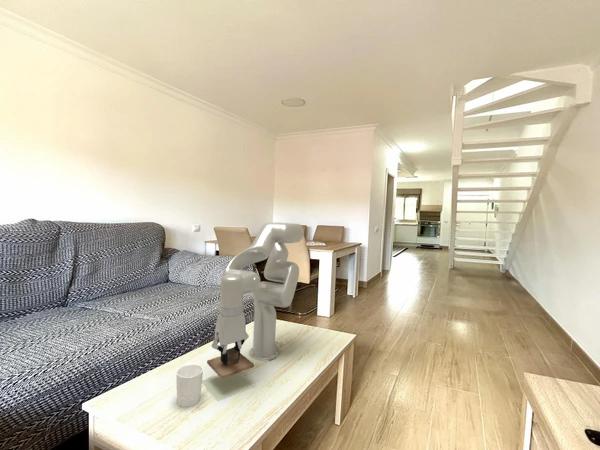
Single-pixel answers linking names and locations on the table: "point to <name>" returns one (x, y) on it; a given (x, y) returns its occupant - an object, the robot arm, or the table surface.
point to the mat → (227, 385)
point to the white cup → (189, 385)
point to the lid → (230, 364)
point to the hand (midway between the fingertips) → (230, 360)
